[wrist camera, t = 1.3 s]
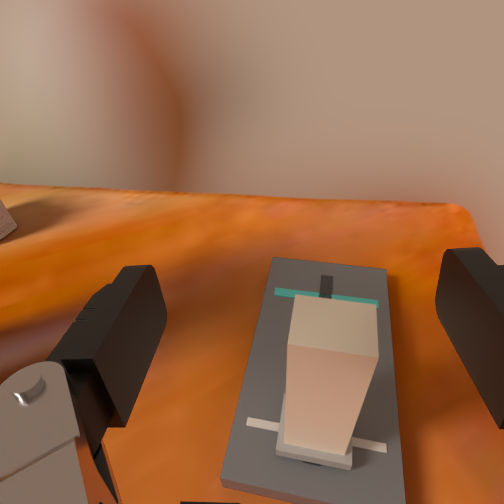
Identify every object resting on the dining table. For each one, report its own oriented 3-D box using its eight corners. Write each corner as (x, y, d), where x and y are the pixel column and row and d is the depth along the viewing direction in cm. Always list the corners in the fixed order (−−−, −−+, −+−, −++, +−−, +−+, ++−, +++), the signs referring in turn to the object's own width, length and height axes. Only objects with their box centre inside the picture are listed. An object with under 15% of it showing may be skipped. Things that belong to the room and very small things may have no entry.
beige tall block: (275, 454, 25) (274, 351, 16) (283, 399, 28) (286, 286, 19) (350, 470, 24) (391, 370, 15) (350, 411, 27) (386, 298, 18)
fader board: (223, 486, 26) (219, 477, 24) (273, 269, 42) (273, 256, 40) (399, 527, 24) (407, 520, 22) (382, 282, 39) (386, 268, 38)
